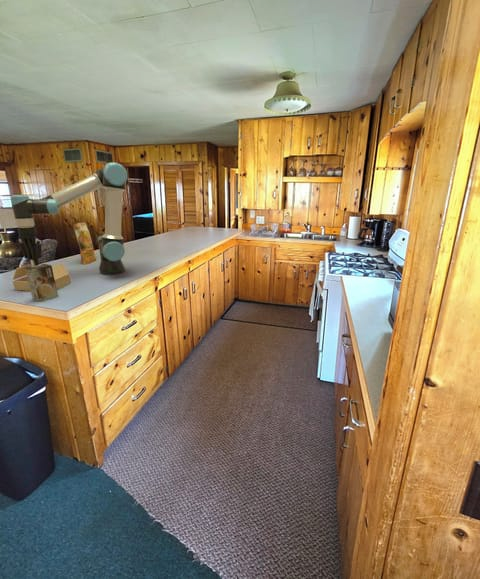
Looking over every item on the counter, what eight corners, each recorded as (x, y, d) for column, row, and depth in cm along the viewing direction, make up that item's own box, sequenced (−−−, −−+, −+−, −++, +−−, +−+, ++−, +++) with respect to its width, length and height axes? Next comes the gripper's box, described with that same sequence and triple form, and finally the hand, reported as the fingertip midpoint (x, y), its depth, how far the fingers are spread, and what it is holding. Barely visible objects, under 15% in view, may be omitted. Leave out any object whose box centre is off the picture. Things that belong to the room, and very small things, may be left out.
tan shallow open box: (71, 282, 167) (70, 273, 165) (51, 292, 151) (49, 282, 149) (37, 281, 168) (35, 272, 167) (14, 290, 153) (11, 281, 151)
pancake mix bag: (75, 265, 204) (68, 224, 195) (90, 258, 222) (84, 221, 213) (85, 265, 204) (78, 224, 195) (99, 259, 222) (93, 221, 213)
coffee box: (51, 294, 149) (45, 263, 144) (58, 296, 146) (52, 265, 140) (32, 299, 141) (24, 267, 136) (38, 302, 138) (31, 269, 133)
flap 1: (33, 272, 165) (36, 262, 163) (13, 279, 152) (16, 268, 150) (32, 272, 165) (36, 262, 163) (12, 279, 152) (16, 268, 150)
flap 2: (51, 281, 151) (43, 269, 149) (68, 274, 163) (60, 263, 162) (52, 281, 150) (43, 269, 149) (69, 273, 163) (61, 263, 162)
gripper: (43, 226, 152) (52, 270, 160) (20, 225, 153) (29, 269, 161) (32, 227, 145) (42, 273, 153) (8, 227, 146) (18, 272, 154)
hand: (35, 271), depth 157 cm, fingers closed
